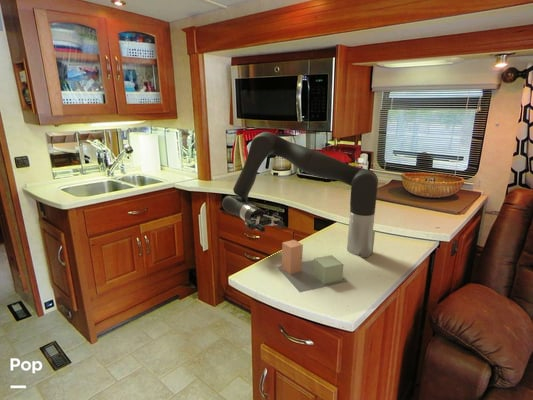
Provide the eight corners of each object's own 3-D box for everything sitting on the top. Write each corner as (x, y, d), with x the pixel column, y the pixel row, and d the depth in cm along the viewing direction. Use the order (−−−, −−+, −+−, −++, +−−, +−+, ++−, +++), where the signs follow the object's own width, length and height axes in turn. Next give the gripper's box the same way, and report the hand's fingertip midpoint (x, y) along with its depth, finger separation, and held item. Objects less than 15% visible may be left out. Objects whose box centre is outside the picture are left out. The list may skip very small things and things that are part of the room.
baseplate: (320, 261, 129) (320, 258, 129) (348, 284, 113) (348, 281, 113) (276, 269, 123) (276, 266, 123) (299, 294, 107) (299, 292, 107)
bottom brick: (330, 270, 120) (331, 255, 118) (342, 280, 114) (343, 263, 112) (313, 274, 118) (314, 258, 116) (323, 284, 111) (324, 267, 110)
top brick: (293, 265, 124) (294, 239, 121) (301, 270, 120) (302, 244, 117) (281, 268, 121) (282, 242, 118) (290, 274, 117) (290, 247, 114)
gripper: (236, 208, 135) (257, 221, 121) (267, 203, 142) (290, 215, 129) (236, 226, 137) (257, 241, 124) (267, 220, 144) (289, 233, 131)
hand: (274, 228), depth 126 cm, fingers open, 8 cm apart
